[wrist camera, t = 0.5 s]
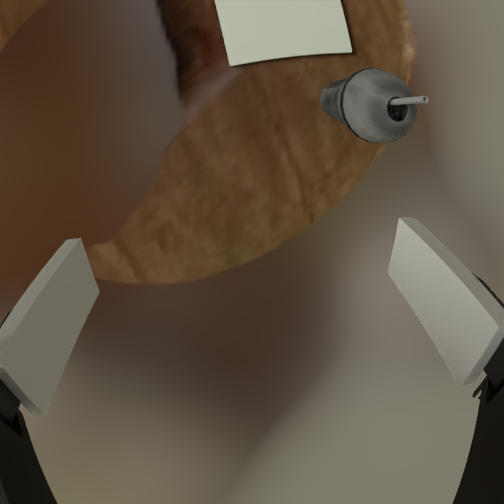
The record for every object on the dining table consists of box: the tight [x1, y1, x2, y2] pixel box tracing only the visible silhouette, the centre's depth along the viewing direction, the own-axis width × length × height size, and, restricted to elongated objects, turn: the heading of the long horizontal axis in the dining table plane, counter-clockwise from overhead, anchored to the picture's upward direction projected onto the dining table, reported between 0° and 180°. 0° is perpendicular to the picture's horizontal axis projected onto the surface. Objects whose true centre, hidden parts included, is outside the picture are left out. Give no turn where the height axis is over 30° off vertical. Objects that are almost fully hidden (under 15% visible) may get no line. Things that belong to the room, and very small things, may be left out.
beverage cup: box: [320, 68, 428, 143], centre depth 24 cm, size 7×7×20 cm
